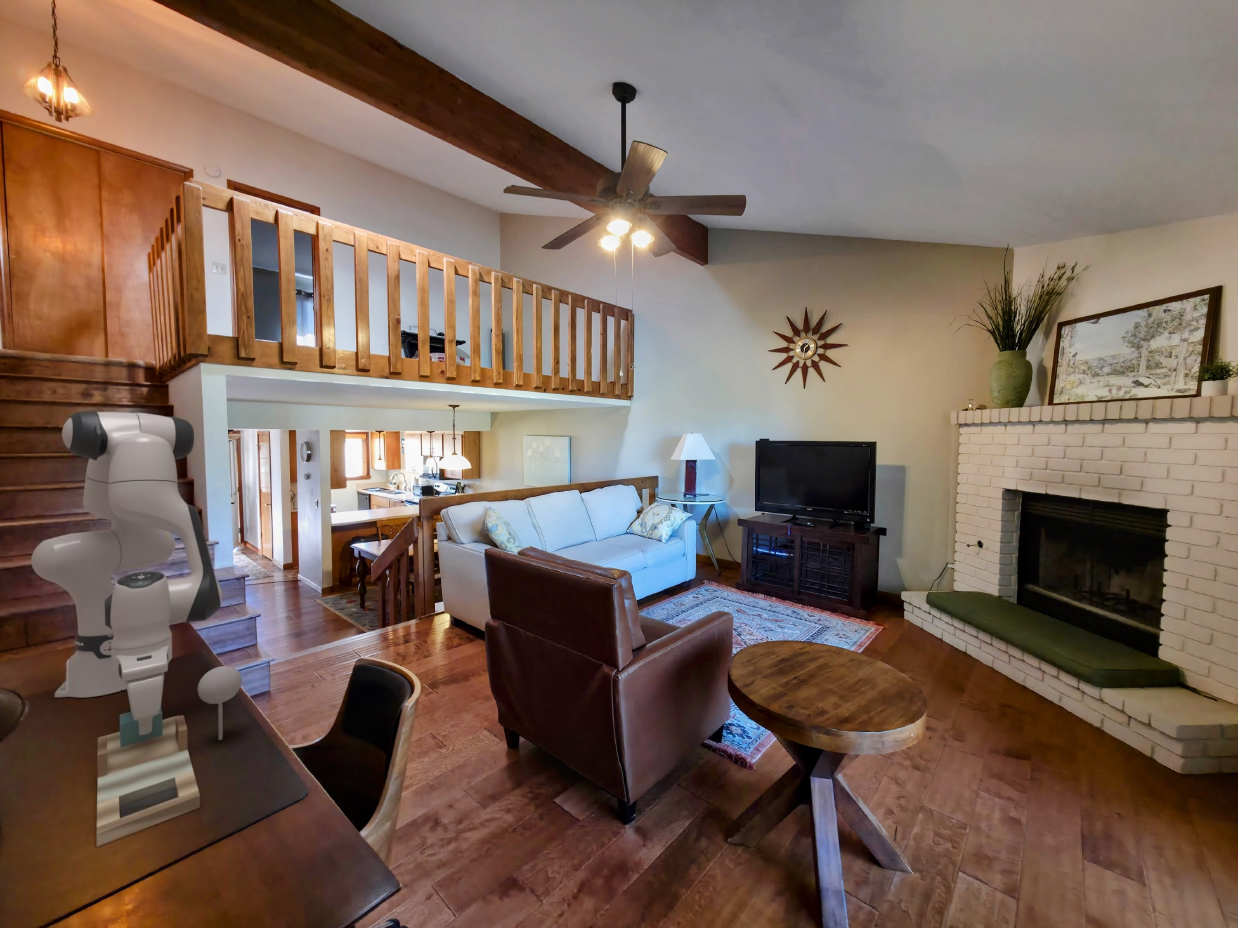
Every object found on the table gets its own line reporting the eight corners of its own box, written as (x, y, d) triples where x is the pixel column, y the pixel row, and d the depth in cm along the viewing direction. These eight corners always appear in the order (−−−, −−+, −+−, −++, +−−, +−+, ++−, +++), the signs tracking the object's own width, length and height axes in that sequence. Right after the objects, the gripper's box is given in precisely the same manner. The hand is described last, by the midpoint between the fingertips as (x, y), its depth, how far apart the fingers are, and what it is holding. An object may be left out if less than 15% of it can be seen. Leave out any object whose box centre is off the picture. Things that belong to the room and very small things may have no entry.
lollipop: (250, 733, 106) (249, 663, 105) (213, 752, 99) (212, 677, 98) (226, 726, 108) (226, 658, 107) (189, 745, 101) (188, 671, 101)
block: (119, 736, 100) (119, 714, 100) (160, 725, 105) (160, 703, 104) (120, 747, 97) (120, 724, 97) (162, 735, 101) (162, 713, 101)
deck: (98, 747, 100) (98, 717, 100) (178, 724, 108) (178, 697, 108) (96, 846, 75) (96, 807, 75) (199, 807, 84) (199, 771, 84)
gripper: (118, 645, 105) (119, 710, 105) (122, 676, 91) (123, 751, 91) (159, 637, 110) (160, 699, 110) (168, 665, 96) (169, 736, 96)
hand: (143, 723), depth 101 cm, fingers open, 8 cm apart
